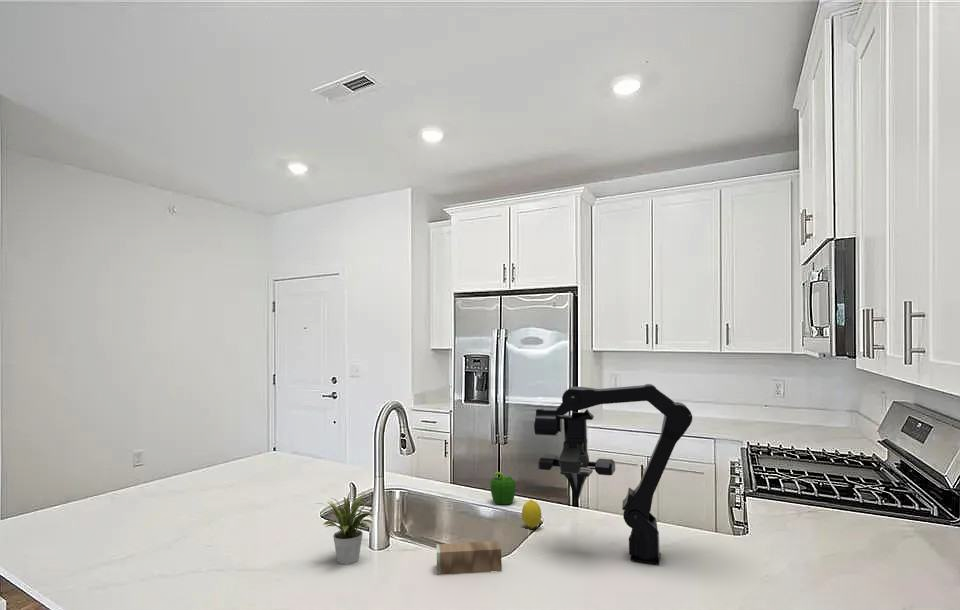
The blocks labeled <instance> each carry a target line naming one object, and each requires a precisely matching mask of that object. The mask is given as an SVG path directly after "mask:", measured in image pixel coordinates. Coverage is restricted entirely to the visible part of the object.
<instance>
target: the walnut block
mask: <svg viewBox="0 0 960 610" xmlns="http://www.w3.org/2000/svg"><path fill="white" fill-rule="evenodd" d="M502 565H503V564H502V548H501V544H500V541H499V540H490V541H473V542H472V541H471V542H454V543H453V542H452V543H451V542H450V543H436V576H441V575H442V576H444V575H458V574H459V575H460V574H462V575H463V574H476V573H479V574H480V573H491V571H497V572H502Z"/></svg>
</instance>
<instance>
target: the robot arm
mask: <svg viewBox="0 0 960 610" xmlns="http://www.w3.org/2000/svg"><path fill="white" fill-rule="evenodd" d="M633 402H635V403H636V402H648V403H649V404H650V405H652V406H653V407H654V408H655V409H656V410H658V411H659V412H660V413H661V414H662V415H663V420H662V423H661V424H662V425H661V431H660V435H659V438H658V440H657V442H656V444H655V447H654V449H653V451H652V453H651V455H650V457H649V460H648V462H647V465H646V468H645V470H644V472H643V474H642V476H641V479H640V480H639V483H638V485H637V487H635V489H633V488H631V487H628V489H627V493H626V497H625V498H624V499H622V507H621V508H622V510H623V520H624V523H625V524H626V526H628V527H629V528H631V531H630V535H629V536H628V552H629V553H628V555H629V556H630V561H631V562H638V563H643V564H651V565H659V564H660V560H661V556H662V554H661V552H660V531H659V529H658V523H657V518H656V517H655V516H654V515H653V514H652V513H651V509H652V503H653V499H654V498H653V497H654V494H655V492H656V489H657V487H658V485H659V483H660V480H661V478H662V476H663V474H664V471H665V469H666V467H667V464H668V462H669V460H670V458H671V455H672V453H673V451H674V448H675V447H676V444H678V442H679V440H680V439H681V438H682V437H683V436H684V435H685V433H687V430H688V429H689V427H690V426H691V424H692V422H693V415H692V412H691V410H690V409H689V407H687V405H686V404H684V403H682V402H679V401H676V402H675V401H674V400H672V399H671V398H669V396H667V395H666V394H664V393H663V392H662V391H661V390H659V389H658V388H657V387H656V386H655V385H654V384H652V383H646V384H643V385H633V386H620V387H619V386H618V387H607V388H594V387H593V388H592V387H588V386H586V387H585V386H572V387H569V388H568V389H567V390H565V391H564V392H563V394H562V397H561V403H560V405H558V406H557V408H556V409H544V408H537V409H536V410H535V417H534V418H535V419H534V423H533V429H534V434H535V436H545V437H546V436H547V437H548V436H552V437H558V435H559V433H562V431H563V435H564V437H563V440H564V441H563V447H562V451H561V453H560V455H558V454H549V453H548V454H546V453H545V454H544V455H542V456H541V457H540V458H539V459H538V462H537V464H538V465H537V467H538V470H542V471H543V470H544V471H550V470H551V469H552V468H553V467H559V470H560V472H559V474H560V475H563V476H564V477H565V478H566V479H567V481H568V483H569V486H570V487H571V491H572V493H573V498H574V499H575V500H580V497H581V494H582V491H583V488H584V485H585V481H586V479H587V477H590V476H591V475H592V474H593V473H594V472H593V471H594V470H595V473H597V475H601V476H613V474H614V473H615V472H616V463H615V460H613V459H611V458H600V457H599V458H598V459H597V460H596V461H590V458H589V457H590V455H589V454H588V432H587V431H588V430H587V421H592V420H594V417H595V416H594V414H593V413H591V412H590V411H589V408H592V407H595V406H599V405H608V404H609V405H610V404H621V403H622V404H623V403H633ZM581 410H585V411H582V412H580V411H581ZM577 411H578V412H577ZM569 412H572V413H571V414H570V415H569V414H568V415H566V414H567V413H569Z"/></svg>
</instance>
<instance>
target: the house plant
mask: <svg viewBox="0 0 960 610" xmlns="http://www.w3.org/2000/svg"><path fill="white" fill-rule="evenodd" d="M350 495H351V491H349V492H348V495H347V498H346V497H345V496H343V505H344V508H343V507H341V505H340V503H339V501H338V500H337V499H335V498H332V497H331V498H330V499H332V500H334V501H335V502H337V504H338V506H339V507H337V506H336V505H335V504H334V503H333V501H332V500H327V504H328V505H330V506H331V507H330V506H328V505H326V504H324V503H322V502H321V503H320V502H319V503H318V502H317V503H314V504H316V505H318V504H320V505H325V506H326V507H328V508H329V509H330V510H331V511H332V512H331V514H332V513H333V515H335V517H336V519H337V522H338V524H339V525H337V524H336V523H335V522H334V521H332V520H326V521H325V522H323V524H322V525H326V526H325V528H327V527H336V528H338V531H336V532H334V534H333V541H334V549H335V554H336V560H337V563H338V564H340V565H351V564H355V563H357V562H358V561H359V559H360V552H361V548H362V547H361V546H362V540H363V534H364V533H363V530H361V529H358V528H359V527H360V526H361V527H366V528H367V529H368V524H367V523H370V524H372V526H374V525H373V521H372V520H370V519H364V518H366V517H368V516H371V515H372V516H375V514H374V513H370V512H365V511H362V512H361V510H362V509H364V508H366V507H365V506H366V505H368V504H369V503H370V502H372V501H373V500H371V499H370V500H368V501H367V502H366V503H364V505H362V506H361V507H360V505H361V504H362V501H363V497H364V496H365V495H366V493H363V494H361V495H360V496H358V497H357V498H356V499H355V500H354V502H353V503H352V504H351V507H350ZM349 508H350V509H349Z"/></svg>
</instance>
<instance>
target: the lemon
mask: <svg viewBox="0 0 960 610" xmlns="http://www.w3.org/2000/svg"><path fill="white" fill-rule="evenodd" d="M521 519H522V521H523V523H524V525H526V526H527V527H528V528H530V529H532V530H533V529H534V528H535V527H537V526H538V525H539V524H540V522H541V520H542V509H541V507H540V504H539V503H538V502H536V501H534V500H533V499H529V501H526V502H525V503H524V504H523V506H522V509H521Z"/></svg>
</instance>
